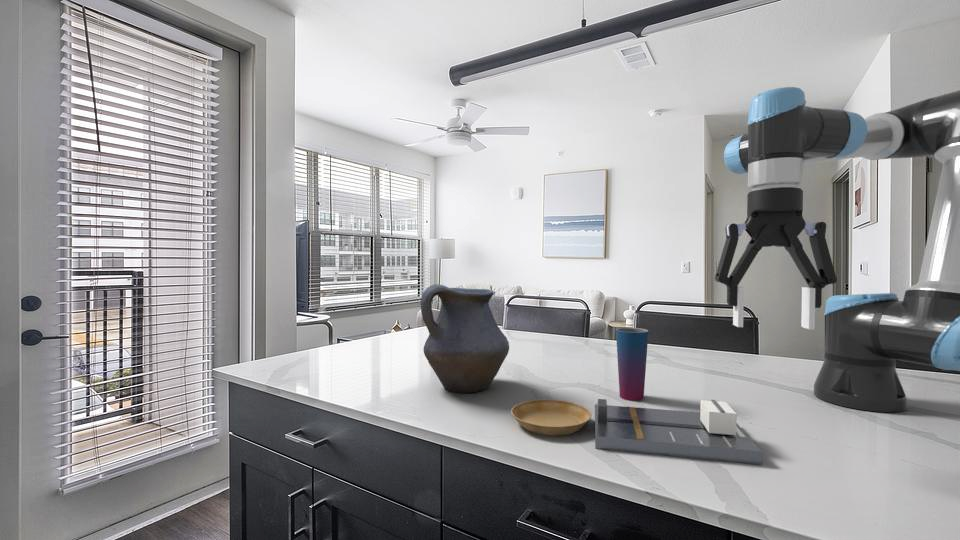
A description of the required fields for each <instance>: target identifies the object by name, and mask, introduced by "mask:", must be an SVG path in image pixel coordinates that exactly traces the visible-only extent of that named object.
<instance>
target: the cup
mask: <svg viewBox="0 0 960 540" xmlns="http://www.w3.org/2000/svg"><path fill="white" fill-rule="evenodd" d="M615 337H616V353H617V373H618V386H619V387H618V388H619V389H618V391H619V398H621V399H622V400H626V401H632V402H639V401H643V400H644V397H645V383H646V370H647V369H646V367H647V359H648V358H647V357H648V344H649V343H648V341H649V330H648V329H645V328H639V327H618V328H615Z"/></svg>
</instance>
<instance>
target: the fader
mask: <svg viewBox="0 0 960 540" xmlns="http://www.w3.org/2000/svg"><path fill="white" fill-rule="evenodd" d="M737 415H738V413H736V412H735V410H734V409H733V408H732V407H731V406H730V405H729V404H728V403H727V402H726V401H719V400H718V401H717V400H716V399H710V400H705V399H704V400H703V399H702V400H700V420H701V422H702V423H703V425H704V426H705V428H706V429H707V431H708V432H709V433H716V434H728V435H736V423H737Z"/></svg>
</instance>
